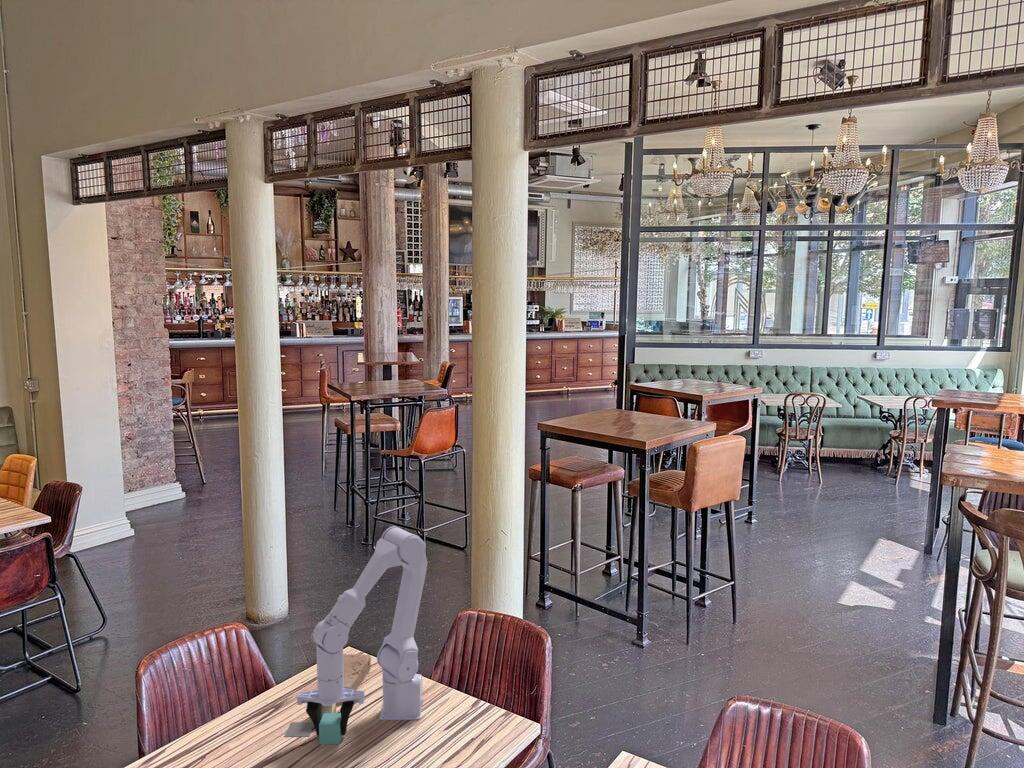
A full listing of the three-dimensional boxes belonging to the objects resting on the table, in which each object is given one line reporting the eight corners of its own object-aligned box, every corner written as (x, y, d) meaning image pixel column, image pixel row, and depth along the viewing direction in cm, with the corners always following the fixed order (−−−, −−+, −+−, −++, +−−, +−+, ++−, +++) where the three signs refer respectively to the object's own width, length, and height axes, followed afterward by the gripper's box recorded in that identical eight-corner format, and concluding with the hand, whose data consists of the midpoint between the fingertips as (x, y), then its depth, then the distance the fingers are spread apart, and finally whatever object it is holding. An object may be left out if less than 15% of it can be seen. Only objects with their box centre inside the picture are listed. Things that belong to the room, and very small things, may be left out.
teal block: (344, 731, 158) (343, 713, 157) (339, 743, 153) (339, 724, 153) (324, 732, 158) (323, 713, 157) (319, 744, 153) (318, 724, 153)
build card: (354, 712, 166) (354, 711, 166) (343, 745, 153) (343, 744, 153) (295, 713, 166) (295, 712, 165) (279, 746, 153) (278, 745, 153)
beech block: (336, 712, 166) (336, 694, 165) (331, 723, 161) (331, 704, 161) (317, 712, 165) (316, 694, 165) (312, 723, 161) (312, 704, 161)
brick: (349, 704, 170) (349, 685, 170) (316, 701, 171) (316, 683, 171) (371, 671, 186) (371, 654, 186) (342, 668, 188) (341, 652, 187)
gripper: (292, 684, 150) (294, 744, 151) (360, 683, 150) (361, 743, 152) (301, 668, 157) (302, 725, 158) (365, 667, 157) (366, 724, 159)
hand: (331, 732), depth 155 cm, fingers open, 5 cm apart
